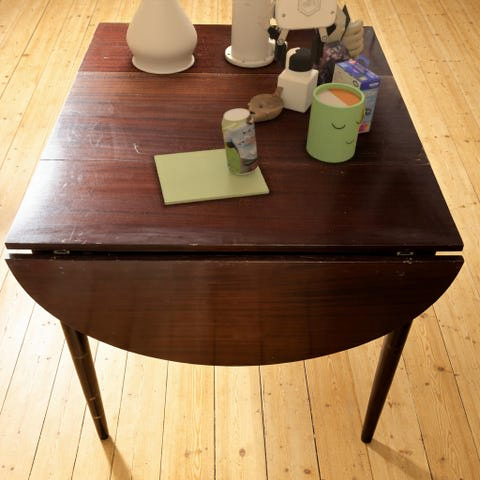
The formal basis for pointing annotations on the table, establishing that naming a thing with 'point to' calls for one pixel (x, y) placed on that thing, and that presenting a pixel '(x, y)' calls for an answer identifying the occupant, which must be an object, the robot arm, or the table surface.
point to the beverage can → (240, 141)
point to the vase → (161, 37)
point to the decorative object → (349, 35)
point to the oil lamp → (266, 106)
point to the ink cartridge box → (359, 85)
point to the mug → (335, 121)
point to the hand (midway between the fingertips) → (298, 62)
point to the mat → (204, 177)
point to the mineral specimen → (331, 60)
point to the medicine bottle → (298, 80)
